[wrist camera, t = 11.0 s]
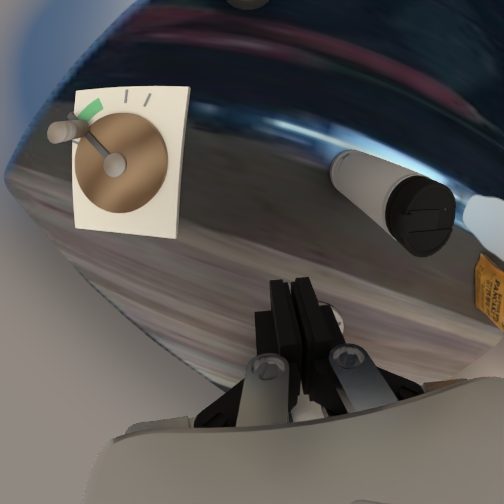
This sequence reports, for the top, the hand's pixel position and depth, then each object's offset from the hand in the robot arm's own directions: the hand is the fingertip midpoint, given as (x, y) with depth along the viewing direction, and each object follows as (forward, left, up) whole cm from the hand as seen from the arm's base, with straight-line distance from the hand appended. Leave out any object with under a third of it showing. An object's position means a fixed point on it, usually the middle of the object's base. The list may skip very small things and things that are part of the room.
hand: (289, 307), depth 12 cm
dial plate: (+1, +18, -27) cm, 33 cm away
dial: (+2, +19, -25) cm, 32 cm away
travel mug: (+3, -12, -27) cm, 30 cm away
